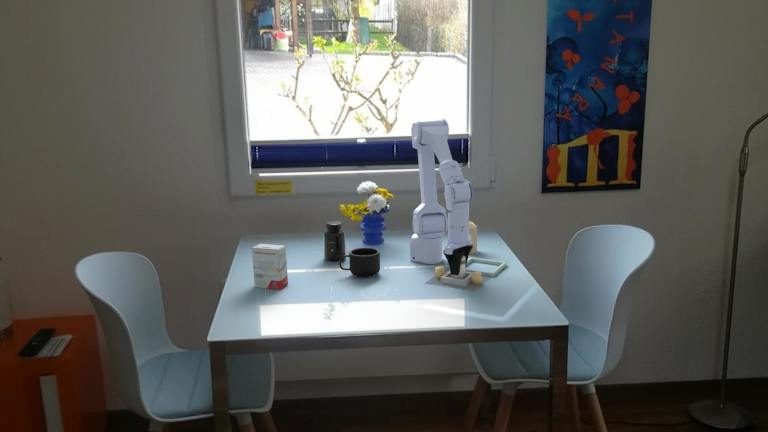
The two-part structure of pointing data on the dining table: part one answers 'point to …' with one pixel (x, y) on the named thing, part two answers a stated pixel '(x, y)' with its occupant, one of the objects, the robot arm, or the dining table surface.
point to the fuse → (461, 270)
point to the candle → (473, 236)
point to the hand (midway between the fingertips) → (458, 272)
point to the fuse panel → (469, 283)
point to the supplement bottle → (334, 242)
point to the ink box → (270, 266)
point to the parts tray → (484, 273)
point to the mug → (363, 262)
